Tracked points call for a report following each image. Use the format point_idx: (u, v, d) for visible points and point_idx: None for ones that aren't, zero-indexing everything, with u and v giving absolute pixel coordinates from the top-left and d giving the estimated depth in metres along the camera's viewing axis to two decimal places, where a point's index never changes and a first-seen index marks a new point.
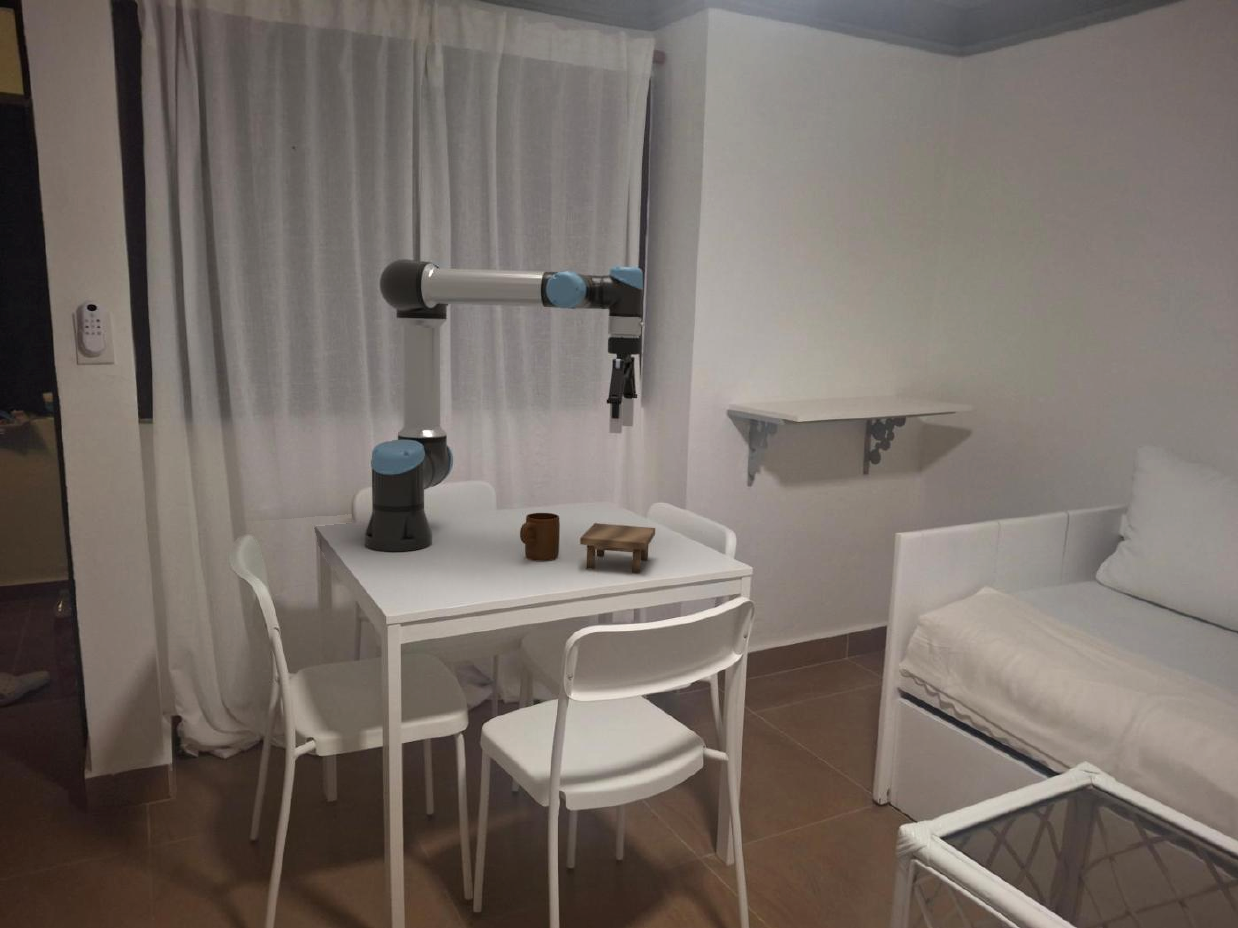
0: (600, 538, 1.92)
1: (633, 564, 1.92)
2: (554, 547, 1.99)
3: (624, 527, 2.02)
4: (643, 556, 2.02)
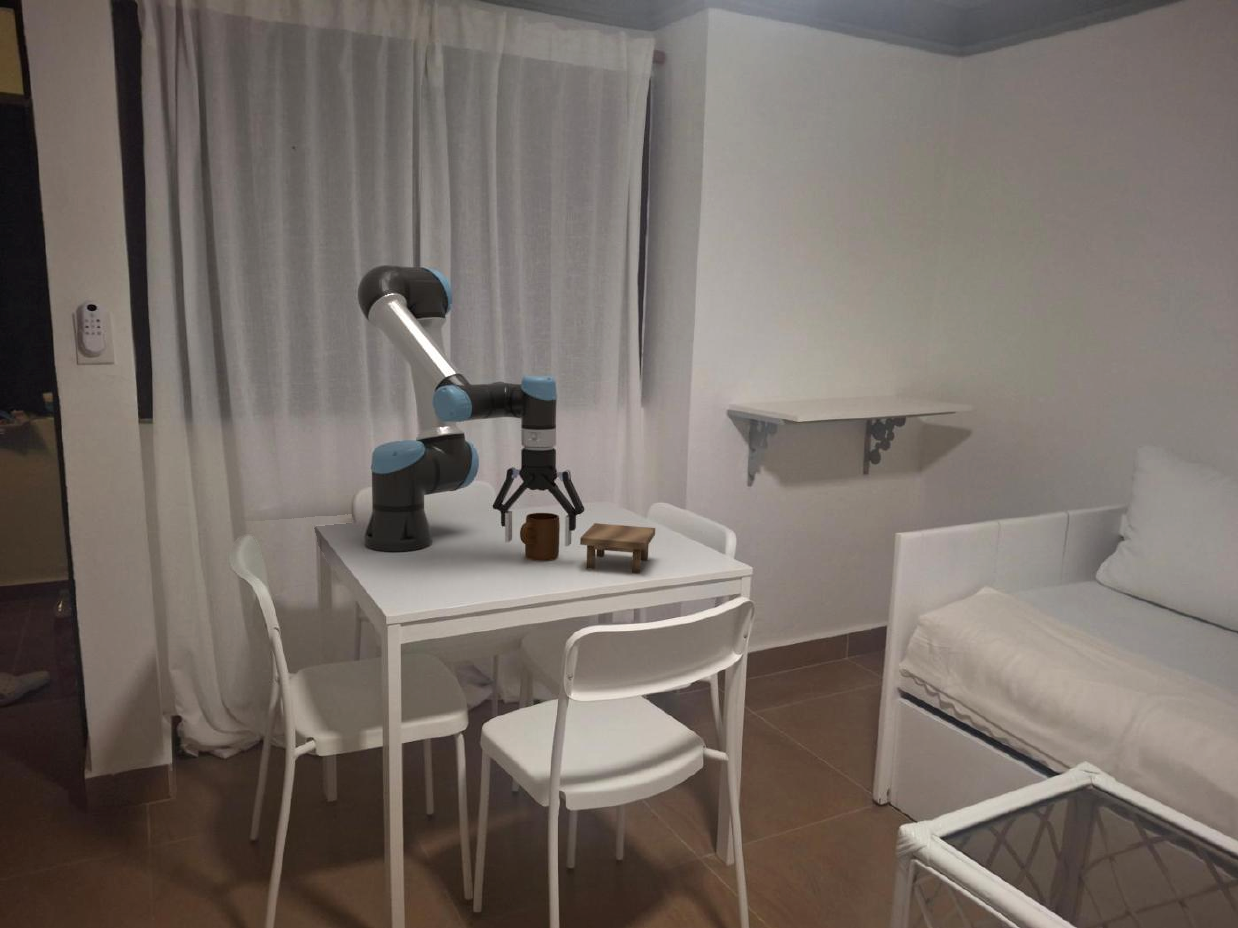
0: (600, 538, 1.92)
1: (633, 564, 1.92)
2: (554, 547, 1.99)
3: (624, 527, 2.02)
4: (643, 556, 2.02)
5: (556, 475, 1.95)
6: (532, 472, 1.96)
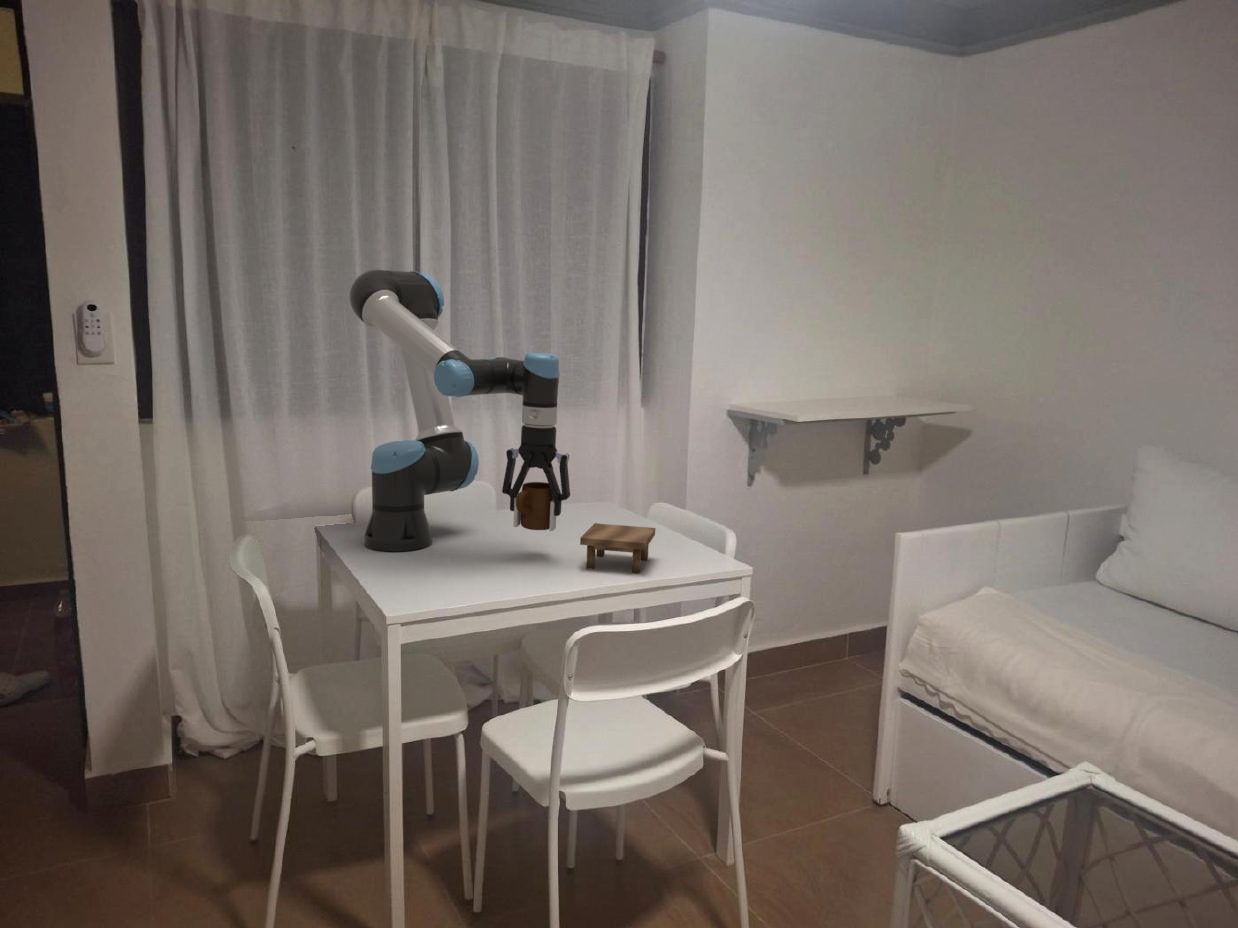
0: (600, 538, 1.92)
1: (633, 564, 1.92)
2: None
3: (624, 527, 2.02)
4: (643, 556, 2.02)
5: (555, 455, 1.95)
6: (531, 447, 1.95)
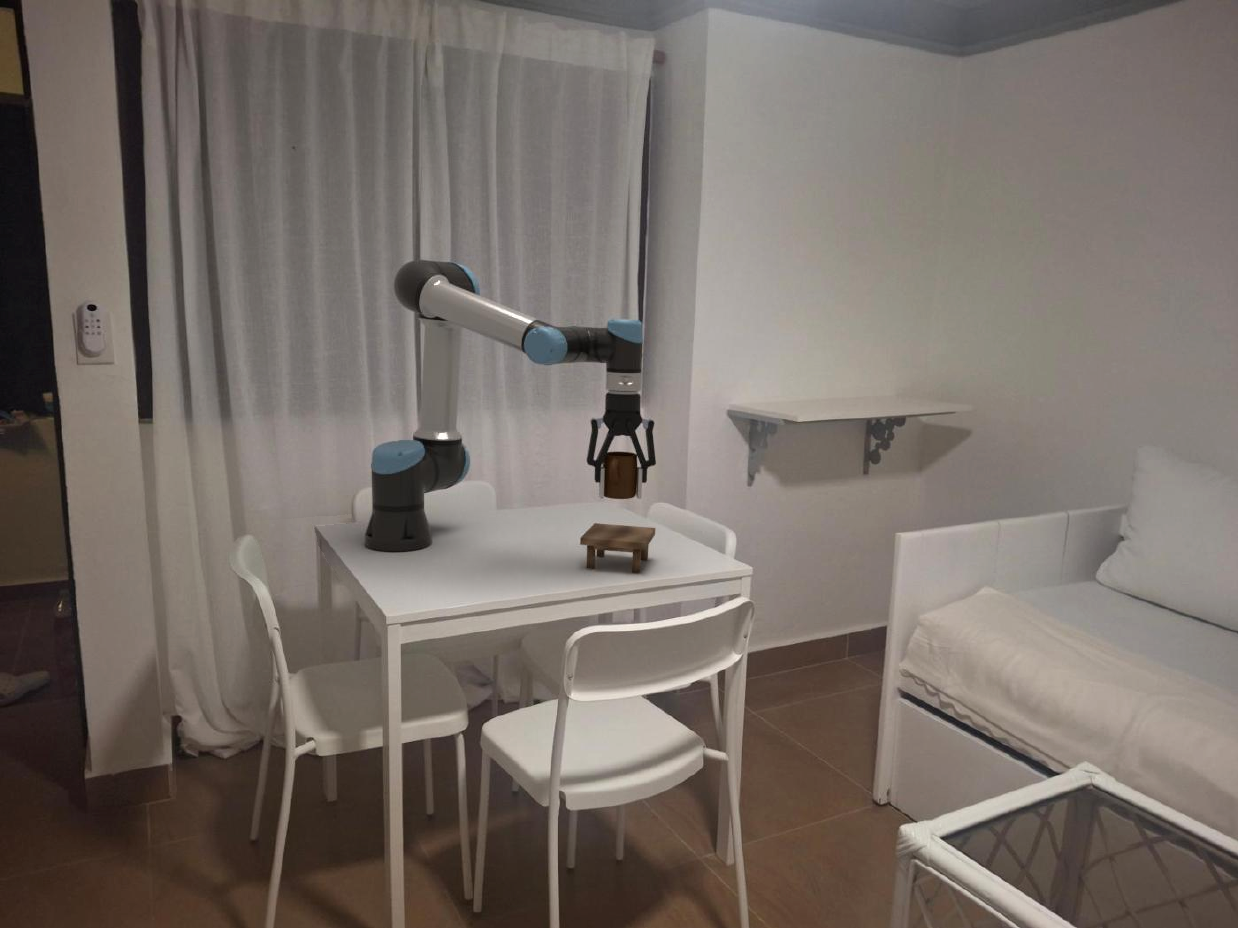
0: (600, 538, 1.92)
1: (633, 564, 1.92)
2: (635, 484, 1.96)
3: (624, 527, 2.02)
4: (643, 556, 2.02)
5: (641, 421, 1.93)
6: (617, 415, 1.92)
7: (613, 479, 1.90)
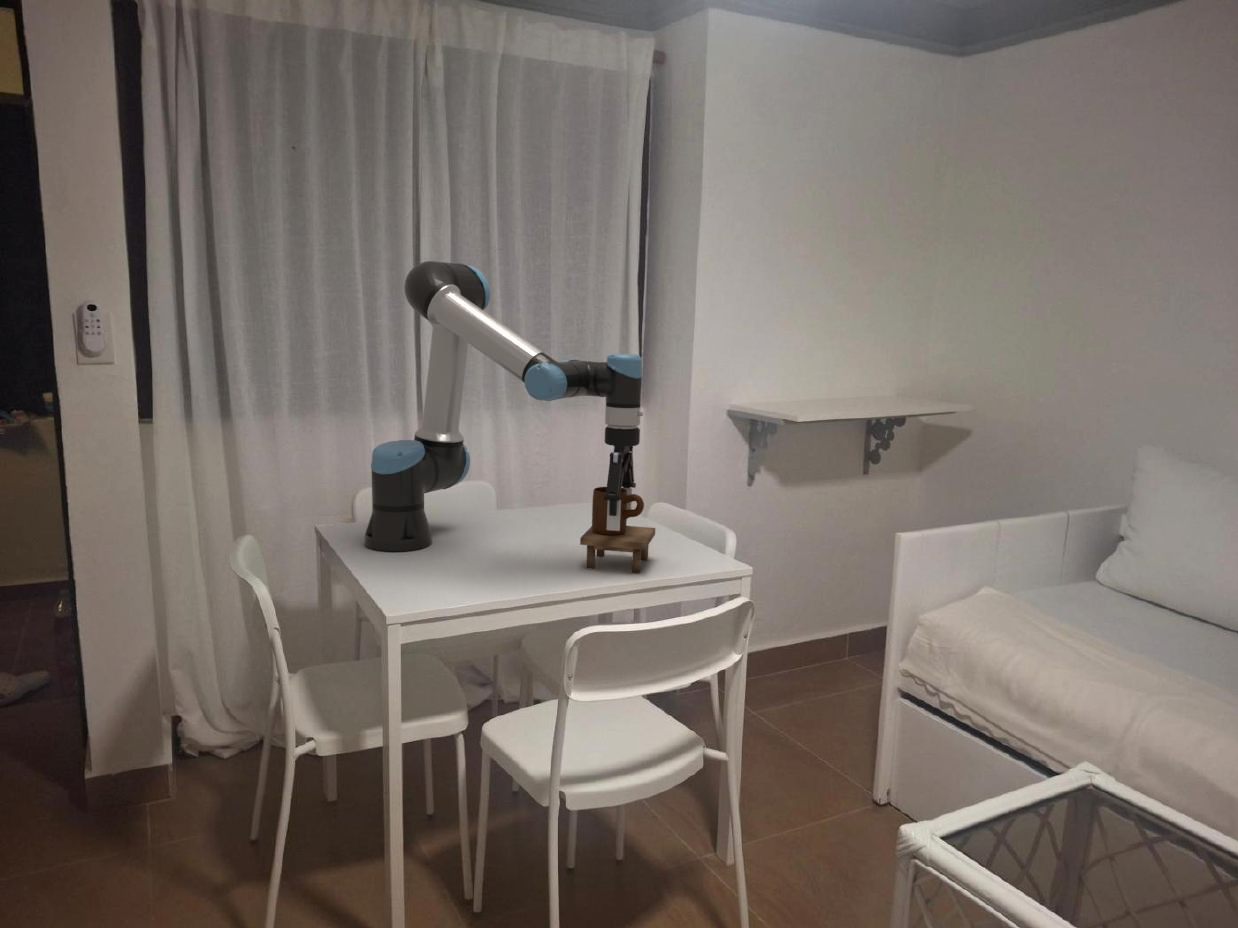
0: (600, 538, 1.92)
1: (633, 564, 1.92)
2: None
3: None
4: (643, 556, 2.02)
5: None
6: (625, 451, 1.93)
7: (640, 513, 1.94)
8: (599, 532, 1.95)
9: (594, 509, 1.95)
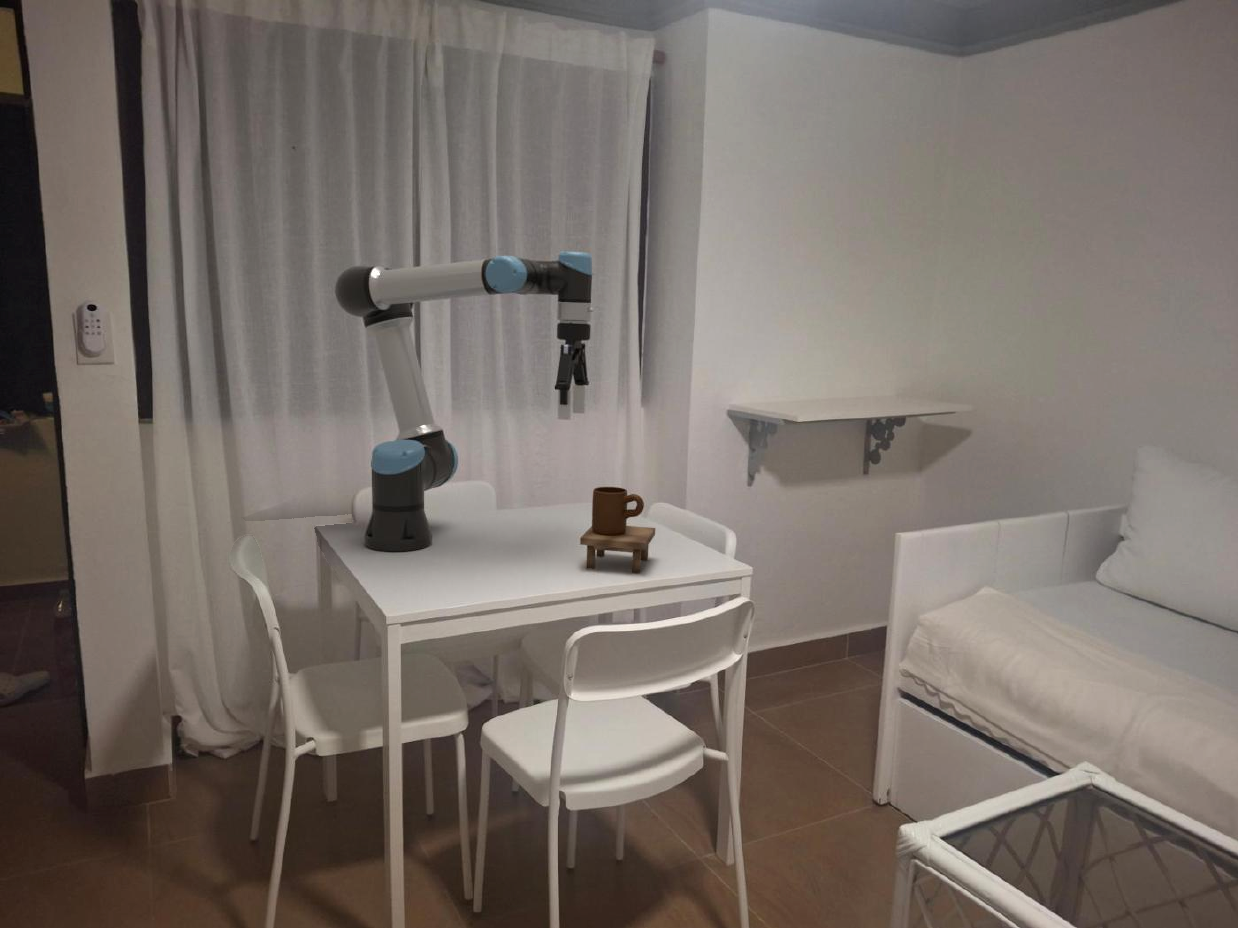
0: (600, 538, 1.92)
1: (633, 564, 1.92)
2: None
3: None
4: (643, 556, 2.02)
5: None
6: (577, 346, 2.03)
7: (639, 513, 1.94)
8: (599, 532, 1.95)
9: (594, 509, 1.95)
